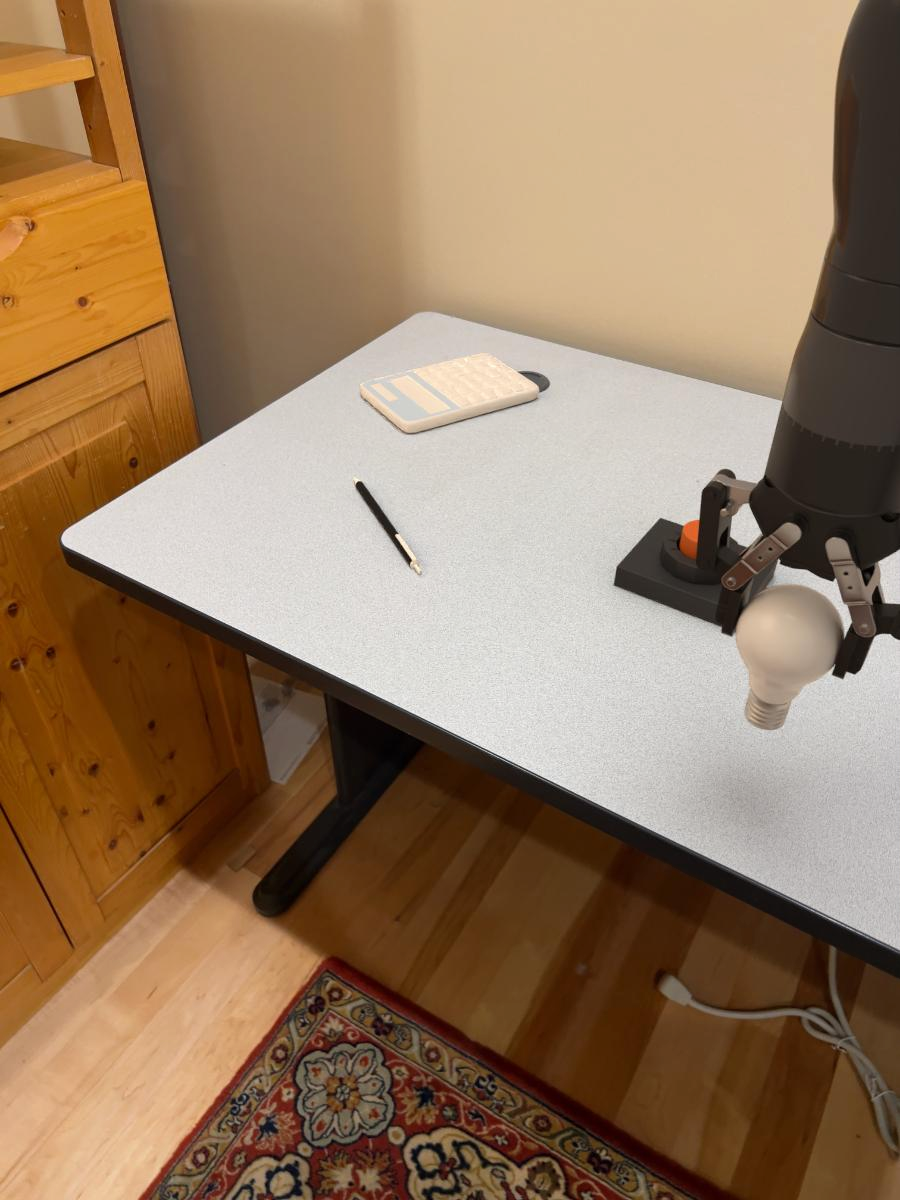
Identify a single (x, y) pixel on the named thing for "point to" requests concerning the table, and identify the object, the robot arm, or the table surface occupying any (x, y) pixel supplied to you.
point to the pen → (388, 526)
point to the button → (689, 539)
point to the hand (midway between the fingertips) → (785, 648)
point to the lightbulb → (785, 648)
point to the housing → (677, 573)
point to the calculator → (448, 392)
